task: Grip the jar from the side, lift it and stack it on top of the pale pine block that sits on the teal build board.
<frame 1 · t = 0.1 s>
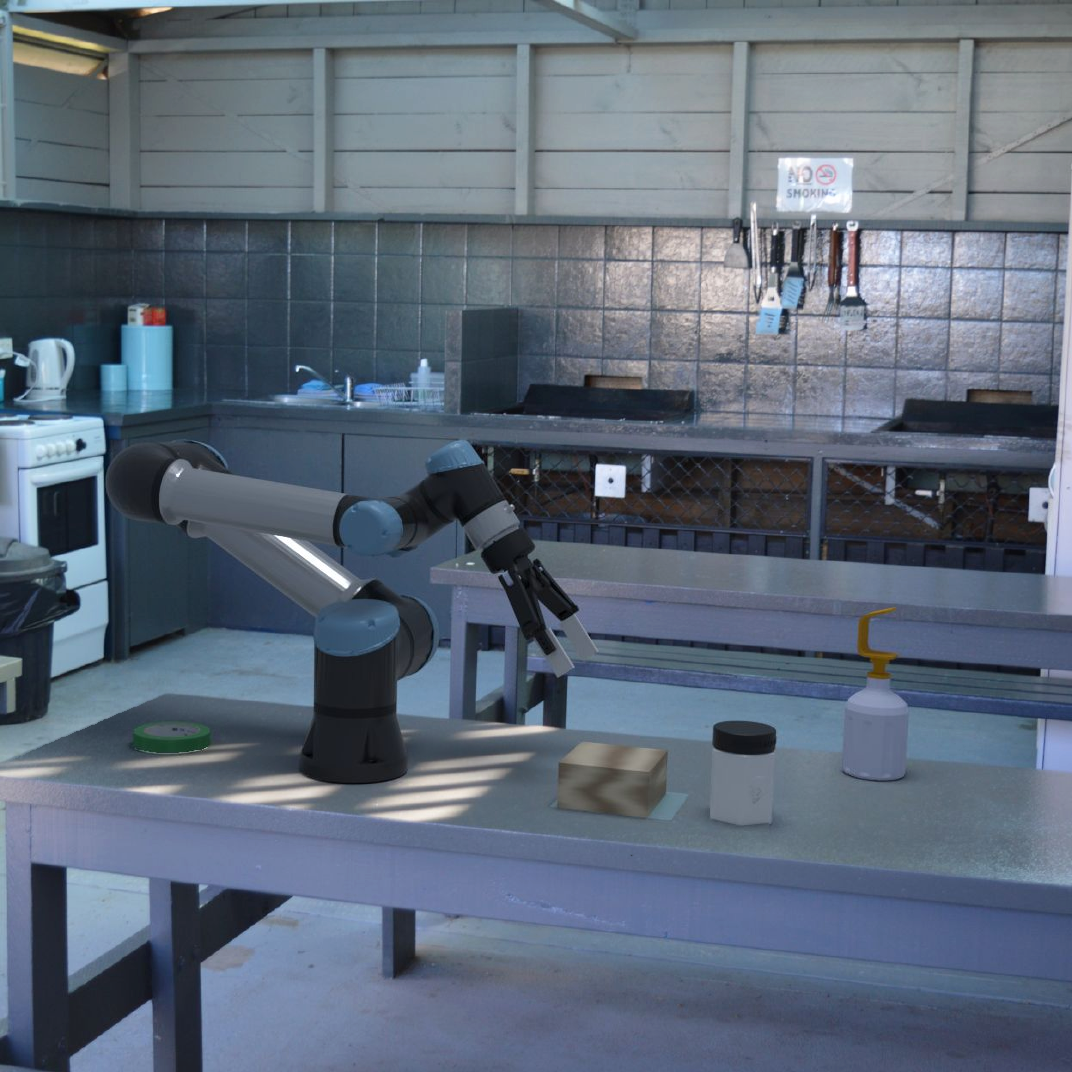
hand: (578, 664, 212), 15 cm above the table, tool tilted 35°, fingers open, 13 cm apart
soap bottle: (873, 774, 217), on the table
base block: (612, 800, 197), resting on build board
tape roll: (171, 748, 219), on the table
build board: (620, 803, 197), on the table
jar: (740, 819, 192), on the table
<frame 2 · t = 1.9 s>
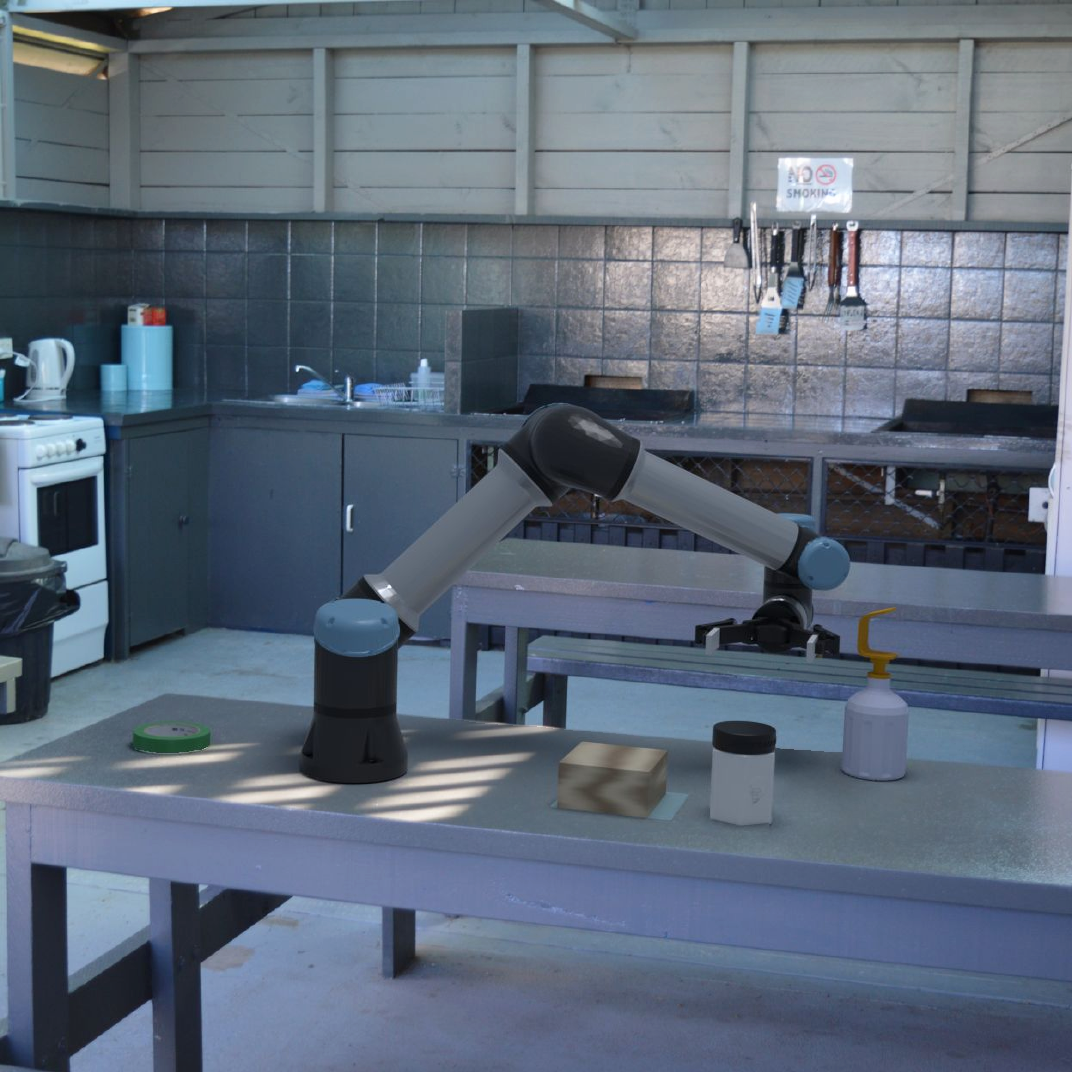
hand: (758, 649, 200), 20 cm above the table, tool horizontal, fingers open, 13 cm apart
nothing on the table moved.
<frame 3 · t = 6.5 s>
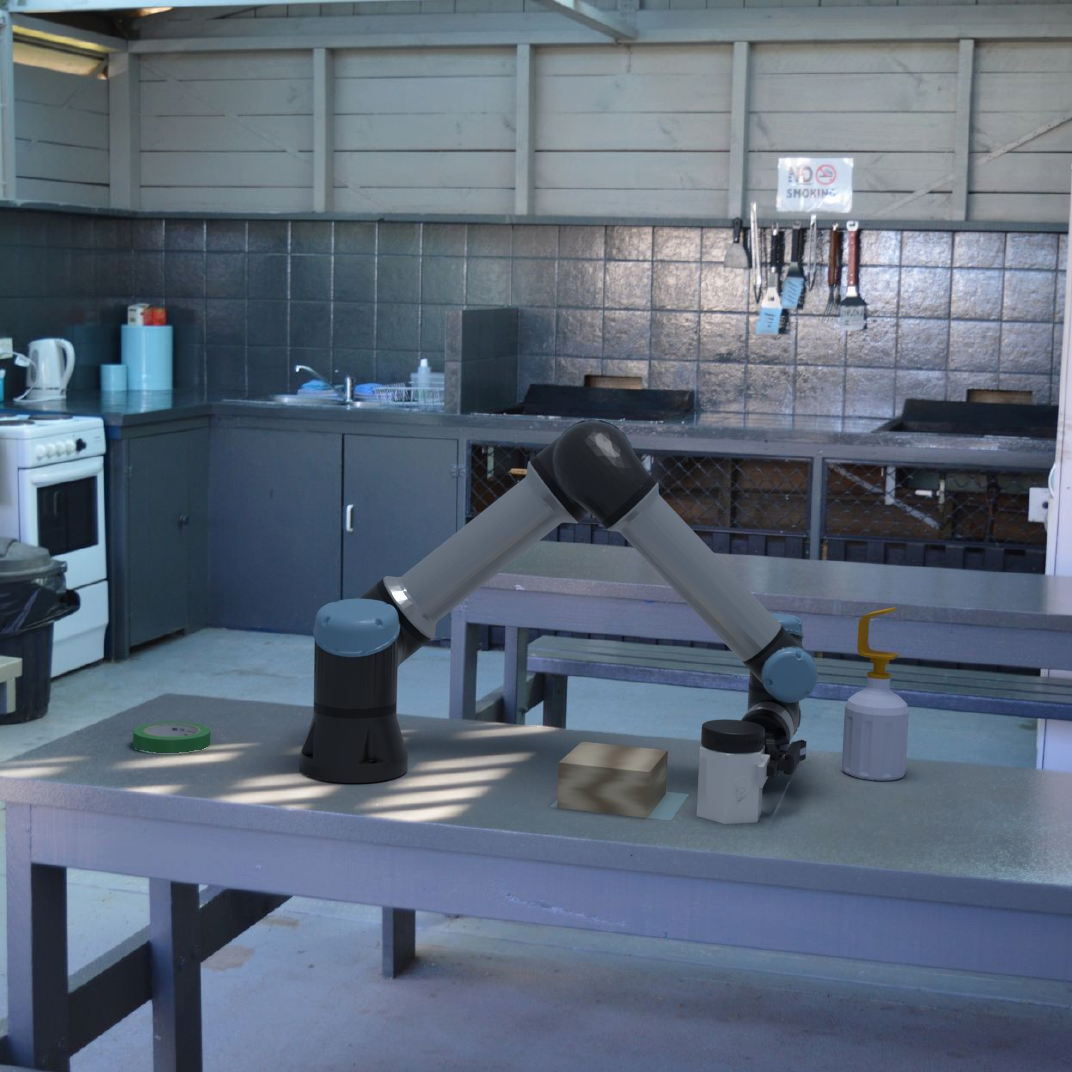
hand: (740, 775, 188), 7 cm above the table, tool horizontal, fingers open, 4 cm apart
jar: (728, 818, 192), on the table
everything else where it was.
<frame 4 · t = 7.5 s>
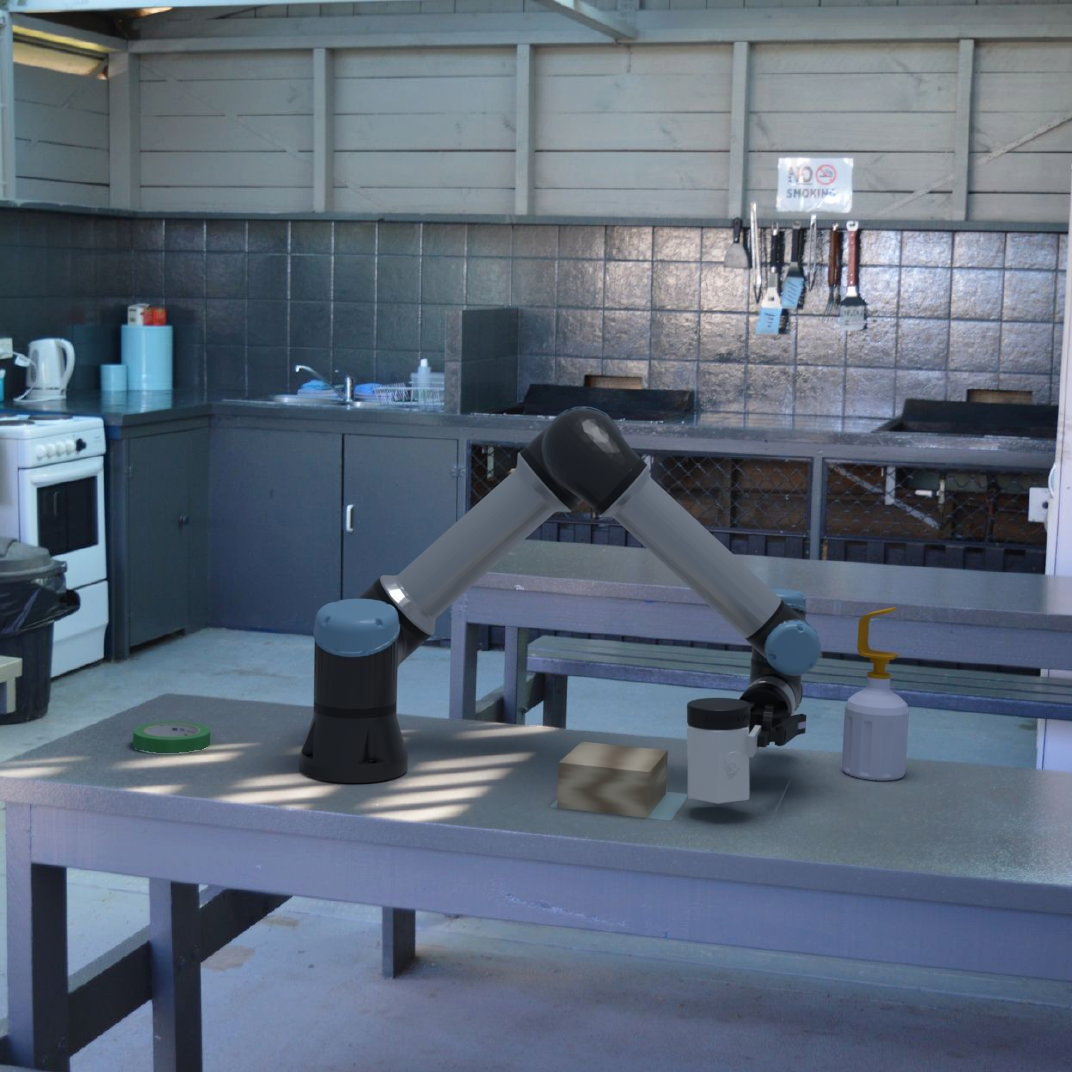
hand: (740, 745, 188), 10 cm above the table, tool horizontal, fingers closed on jar, 2 cm apart
jar: (719, 796, 192), point 3 cm above the table, touching gripper
everything else where it was.
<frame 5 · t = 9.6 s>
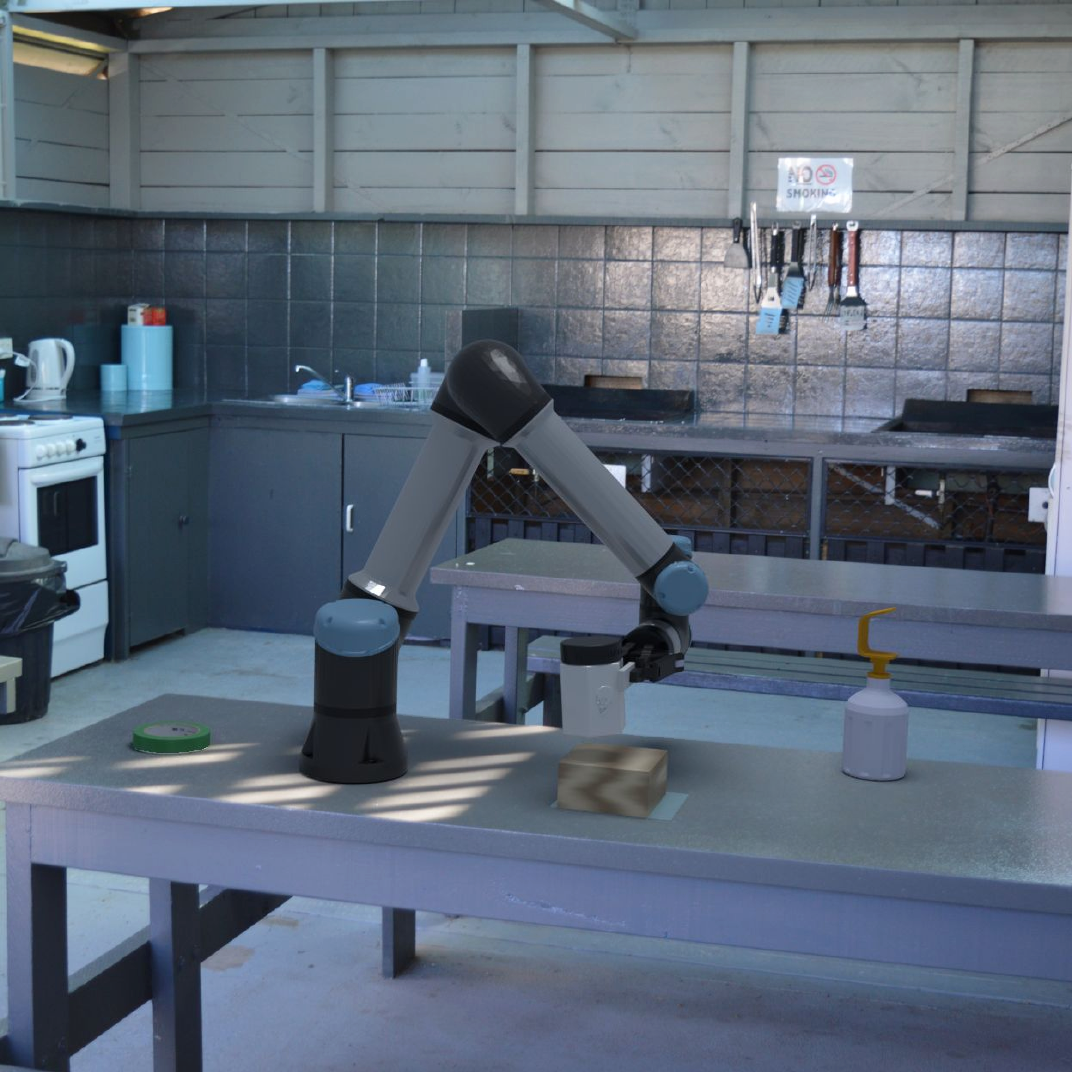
hand: (611, 680, 192), 17 cm above the table, tool horizontal, fingers closed on jar, 2 cm apart
jar: (594, 732, 196), point 10 cm above the table, touching gripper
everything else where it was.
when the fingers open (14 cm above the table, at t = 10.3 s): jar stays where it is, resting on base block.
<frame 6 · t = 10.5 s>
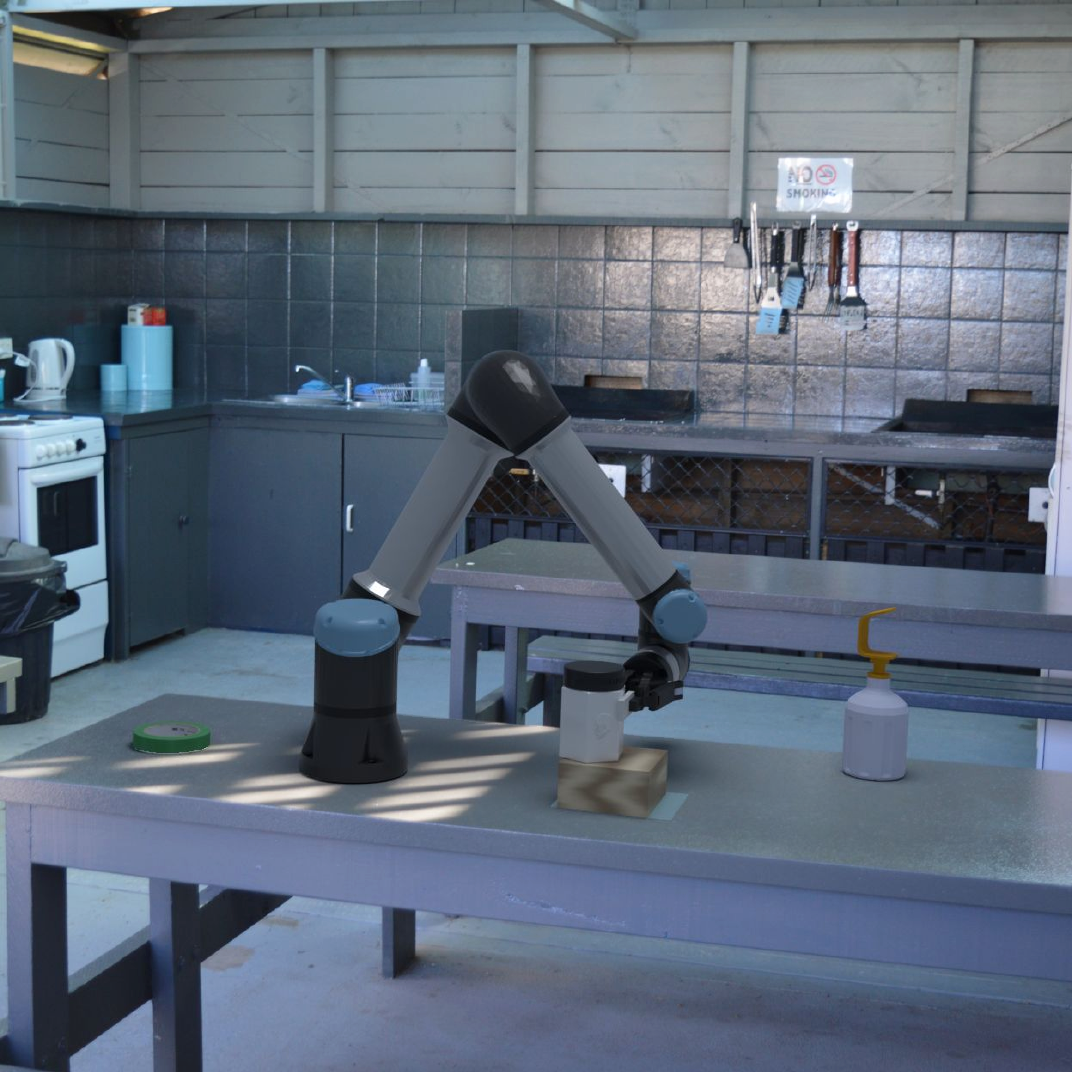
hand: (611, 710, 192), 13 cm above the table, tool horizontal, fingers closed on jar
base block: (612, 800, 197), resting on build board, touching jar
jar: (591, 756, 196), point 6 cm above the table, touching base block, gripper
everything else where it was.
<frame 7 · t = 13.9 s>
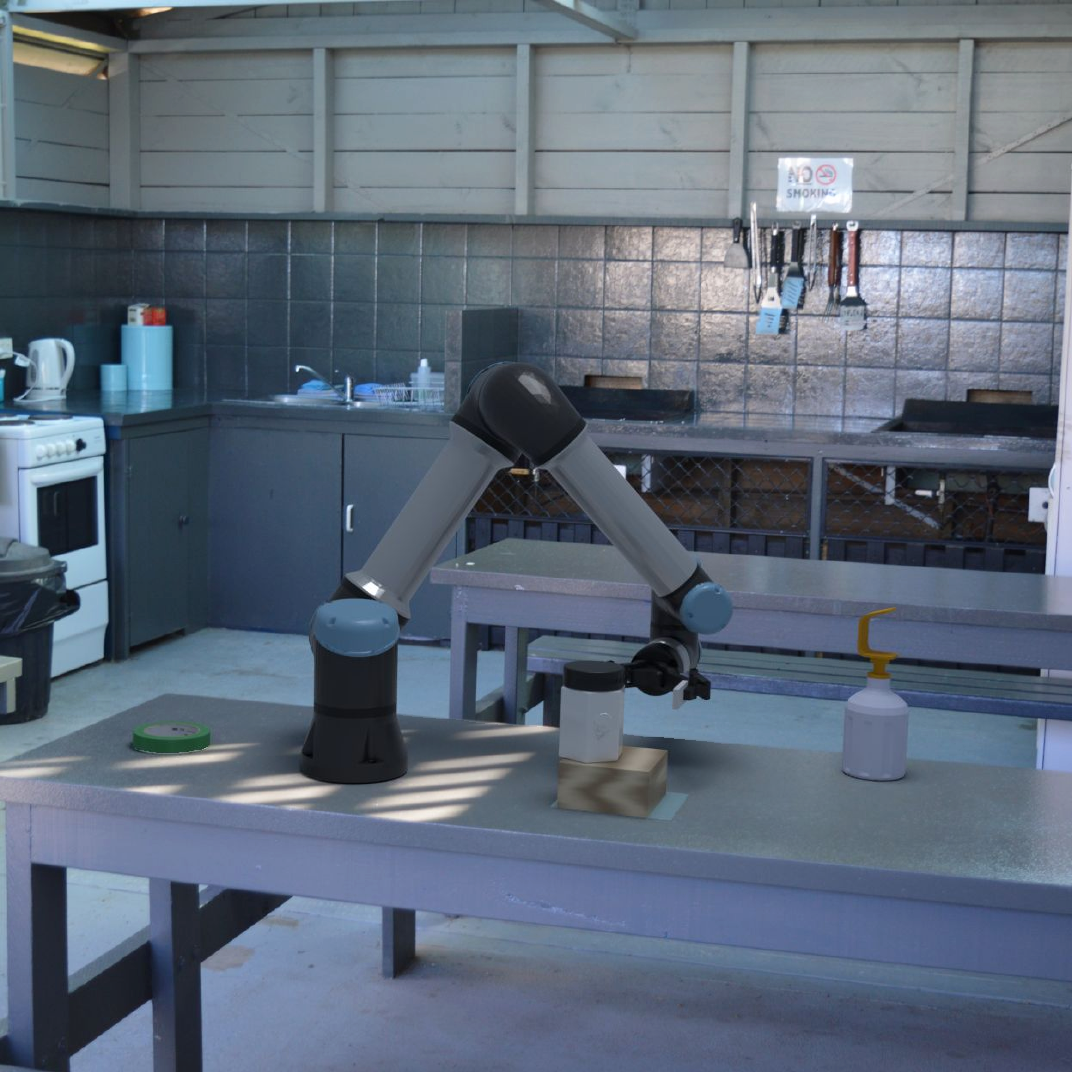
hand: (626, 694, 201), 14 cm above the table, tool horizontal, fingers open, 13 cm apart
jar: (590, 756, 196), point 6 cm above the table, touching base block
everything else where it was.
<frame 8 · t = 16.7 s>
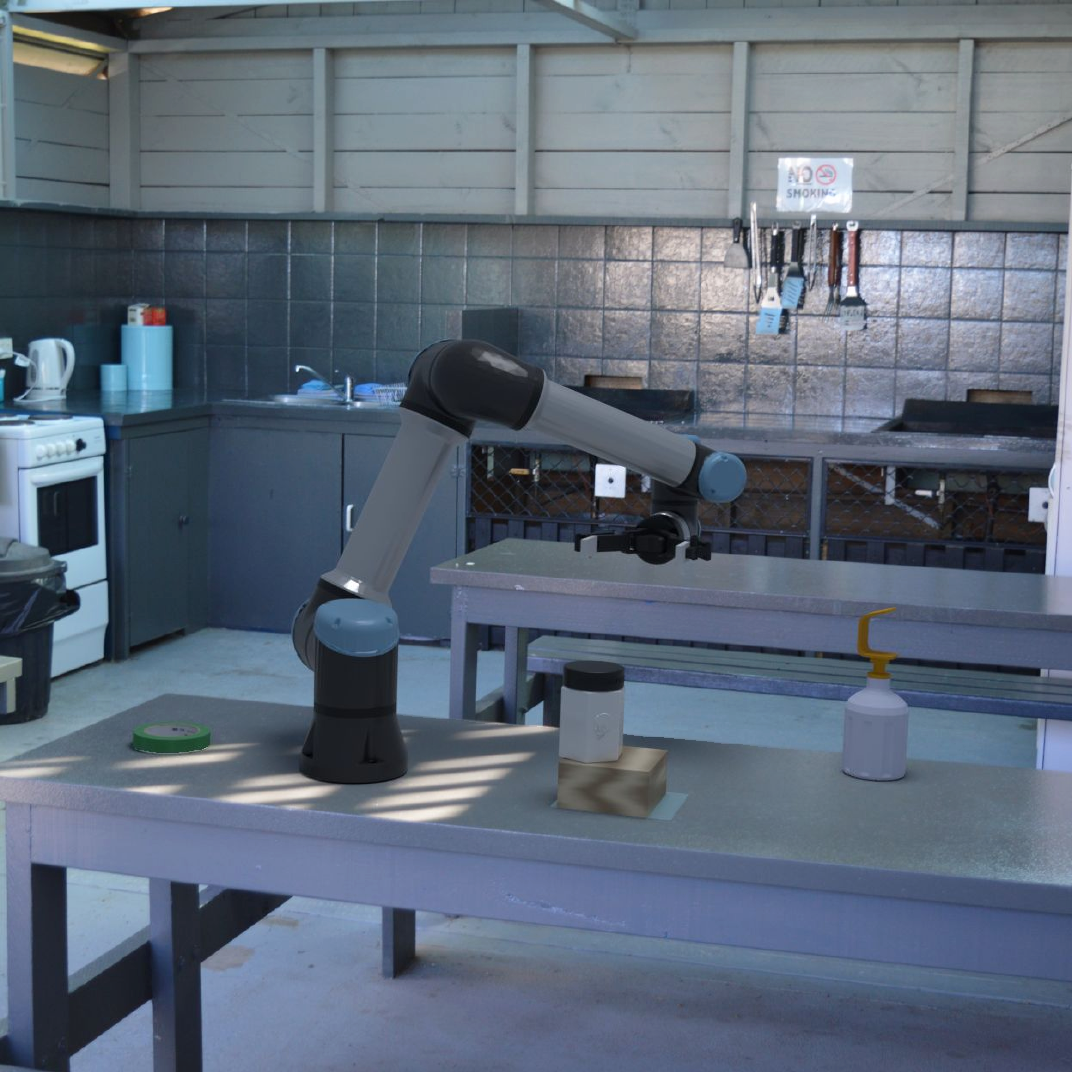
hand: (630, 552, 207), 32 cm above the table, tool horizontal, fingers open, 13 cm apart
nothing on the table moved.
at the end: jar inside the target area on the base block (3.1 cm from its centre), point 5.8 cm above the base block's base; jar touching base block; the gripper is holding nothing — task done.
